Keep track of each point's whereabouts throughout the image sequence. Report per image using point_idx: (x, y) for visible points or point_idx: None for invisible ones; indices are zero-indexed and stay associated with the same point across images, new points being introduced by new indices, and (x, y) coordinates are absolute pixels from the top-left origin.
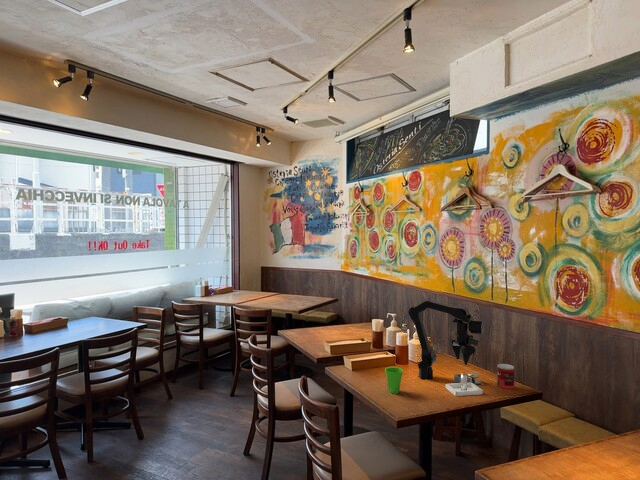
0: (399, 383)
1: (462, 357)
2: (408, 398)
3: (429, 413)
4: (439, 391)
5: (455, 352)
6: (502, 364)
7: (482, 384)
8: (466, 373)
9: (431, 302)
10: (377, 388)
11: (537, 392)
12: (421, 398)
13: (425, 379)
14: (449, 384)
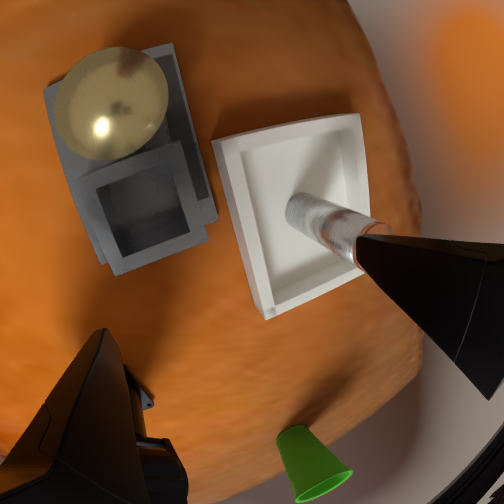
0: (322, 445)
1: (431, 335)
2: (341, 394)
3: None
4: (289, 327)
5: (131, 457)
6: None
7: (169, 52)
8: (380, 230)
9: None
10: (264, 462)
11: None
12: (348, 367)
13: (145, 396)
14: (272, 299)
